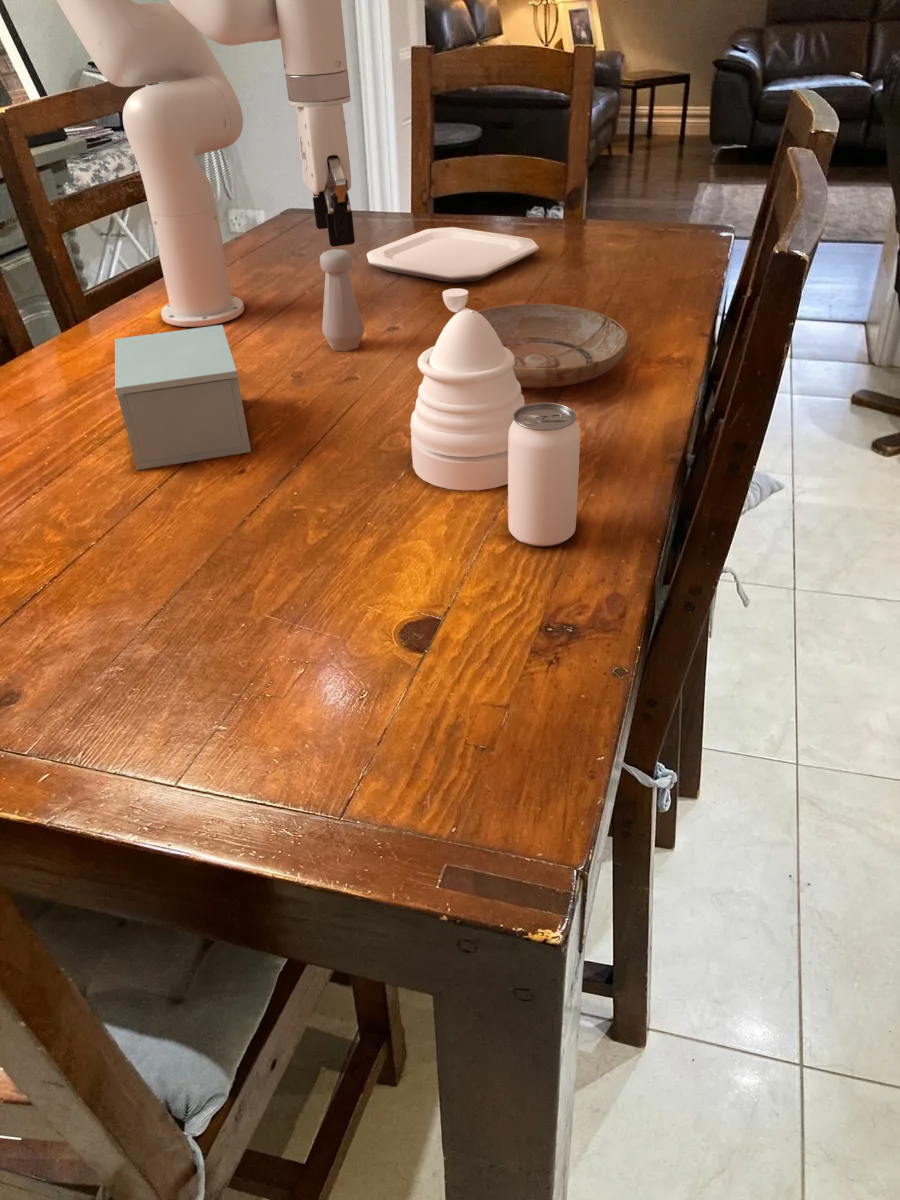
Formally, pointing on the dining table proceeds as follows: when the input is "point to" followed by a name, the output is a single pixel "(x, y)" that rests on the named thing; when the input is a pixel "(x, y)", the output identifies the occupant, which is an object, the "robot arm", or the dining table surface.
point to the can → (543, 474)
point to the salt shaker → (340, 302)
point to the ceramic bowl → (557, 342)
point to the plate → (452, 254)
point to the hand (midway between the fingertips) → (335, 235)
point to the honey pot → (464, 403)
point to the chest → (185, 423)
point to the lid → (172, 359)
